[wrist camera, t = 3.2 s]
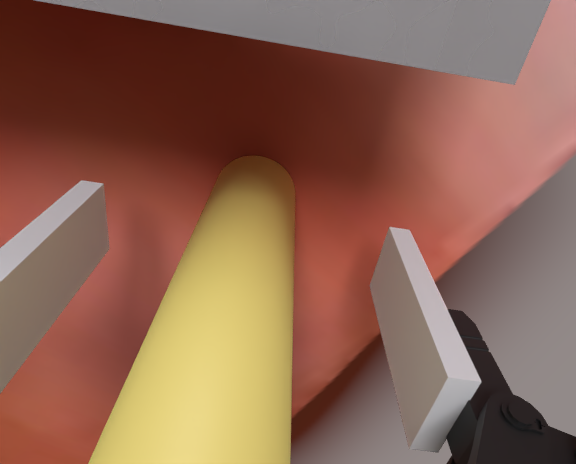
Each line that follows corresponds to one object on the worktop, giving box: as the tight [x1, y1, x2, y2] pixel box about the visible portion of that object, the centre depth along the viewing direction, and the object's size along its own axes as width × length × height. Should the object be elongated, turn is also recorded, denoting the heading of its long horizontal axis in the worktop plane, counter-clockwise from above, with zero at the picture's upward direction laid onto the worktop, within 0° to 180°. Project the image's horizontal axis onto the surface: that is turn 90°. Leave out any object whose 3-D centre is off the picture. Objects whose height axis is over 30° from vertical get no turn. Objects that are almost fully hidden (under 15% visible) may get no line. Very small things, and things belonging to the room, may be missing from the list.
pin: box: [88, 155, 295, 464], centre depth 12 cm, size 4×4×14 cm
